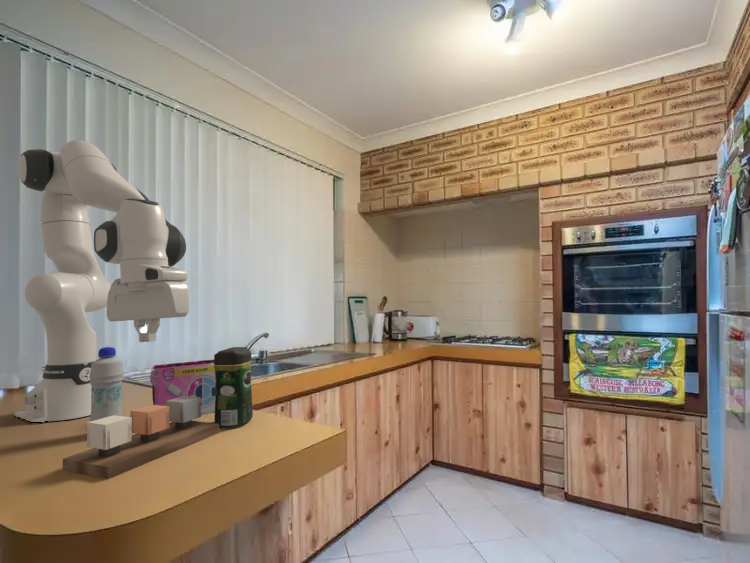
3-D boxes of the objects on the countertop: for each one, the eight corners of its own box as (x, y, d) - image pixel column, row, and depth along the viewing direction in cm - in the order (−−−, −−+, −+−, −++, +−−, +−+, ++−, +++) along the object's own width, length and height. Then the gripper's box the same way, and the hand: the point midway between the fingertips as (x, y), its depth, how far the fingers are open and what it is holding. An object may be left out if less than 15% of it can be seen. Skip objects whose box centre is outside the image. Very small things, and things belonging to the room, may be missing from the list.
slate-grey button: (166, 421, 90) (166, 400, 91) (184, 415, 95) (184, 395, 95) (183, 423, 89) (182, 402, 89) (200, 416, 93) (200, 397, 93)
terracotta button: (130, 432, 83) (130, 410, 83) (152, 425, 87) (152, 404, 87) (148, 435, 81) (148, 412, 81) (169, 427, 85) (169, 406, 86)
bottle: (93, 431, 97) (94, 346, 98) (126, 428, 99) (126, 344, 100) (84, 440, 90) (85, 349, 91) (119, 436, 93) (120, 347, 94)
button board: (62, 469, 74) (63, 438, 74) (180, 427, 98) (180, 404, 98) (107, 479, 69) (108, 446, 70) (219, 432, 94) (219, 408, 94)
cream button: (87, 446, 75) (87, 422, 75) (113, 438, 79) (113, 415, 80) (105, 450, 73) (105, 424, 73) (131, 440, 77) (131, 417, 78)
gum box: (151, 423, 102) (151, 369, 103) (146, 417, 109) (147, 365, 109) (246, 407, 117) (245, 359, 117) (236, 402, 123) (236, 356, 124)
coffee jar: (226, 417, 106) (226, 345, 107) (256, 417, 105) (255, 345, 106) (208, 429, 96) (208, 350, 97) (241, 429, 96) (240, 349, 97)
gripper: (96, 279, 87) (99, 344, 86) (167, 270, 79) (170, 342, 78) (124, 279, 92) (127, 341, 92) (193, 271, 85) (196, 338, 84)
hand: (147, 341), depth 85 cm, fingers closed
